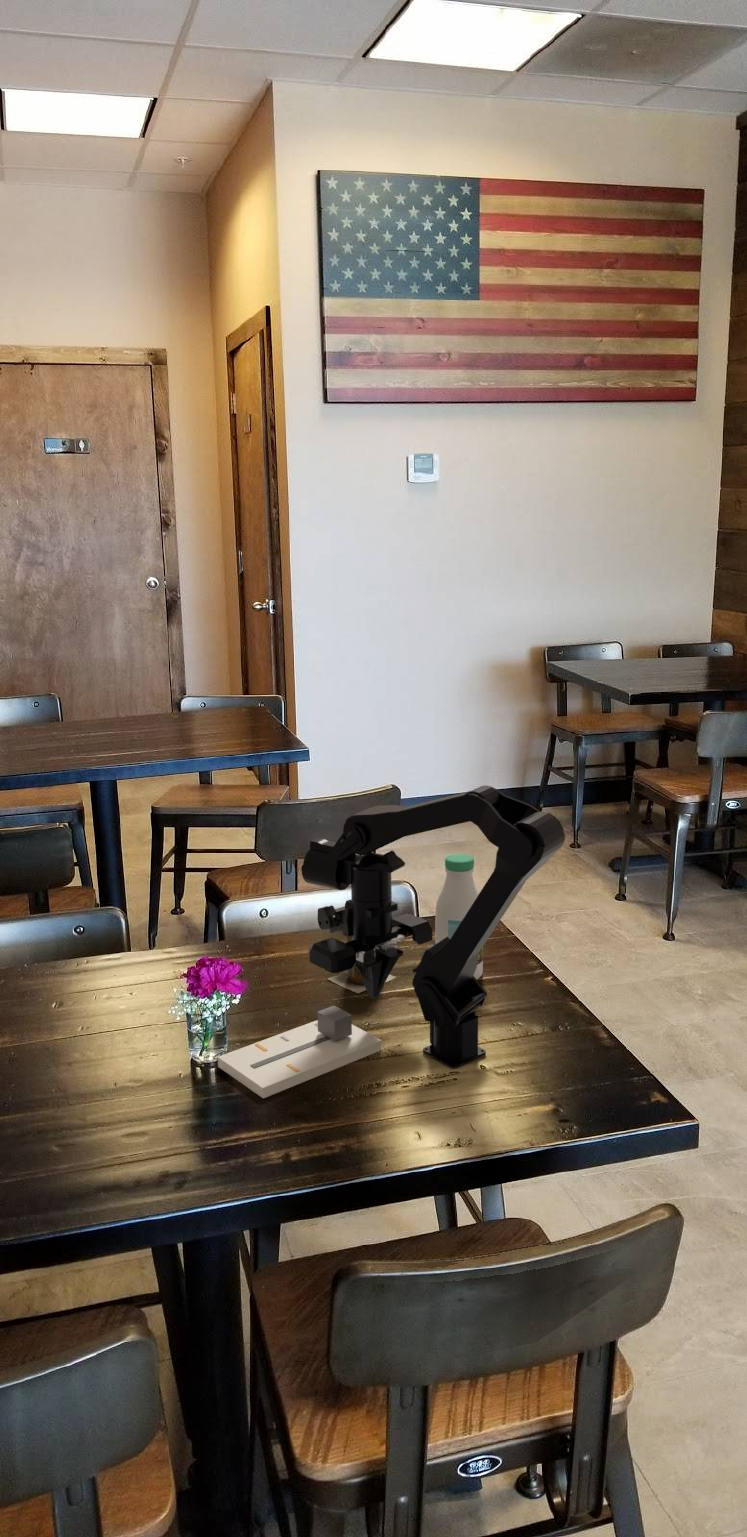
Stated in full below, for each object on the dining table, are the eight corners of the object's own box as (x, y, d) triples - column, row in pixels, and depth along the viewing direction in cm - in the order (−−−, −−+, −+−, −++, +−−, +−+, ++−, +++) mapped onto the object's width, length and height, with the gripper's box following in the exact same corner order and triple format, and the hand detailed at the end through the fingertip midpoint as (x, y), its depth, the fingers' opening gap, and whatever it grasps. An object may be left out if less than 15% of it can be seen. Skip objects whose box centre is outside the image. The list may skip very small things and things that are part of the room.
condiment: (396, 978, 182) (395, 908, 180) (358, 994, 177) (356, 922, 174) (365, 965, 188) (364, 897, 185) (327, 980, 182) (325, 910, 179)
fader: (351, 1034, 159) (351, 1015, 159) (335, 1041, 158) (334, 1021, 157) (334, 1024, 162) (334, 1005, 162) (317, 1031, 161) (317, 1011, 160)
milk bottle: (430, 981, 181) (429, 863, 176) (441, 962, 188) (441, 848, 183) (477, 987, 179) (478, 867, 174) (486, 967, 186) (488, 852, 181)
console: (381, 1050, 159) (381, 1039, 158) (263, 1098, 146) (262, 1087, 146) (333, 1023, 167) (333, 1013, 167) (218, 1066, 155) (217, 1056, 154)
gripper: (385, 867, 172) (386, 963, 175) (284, 896, 160) (288, 997, 164) (434, 886, 163) (435, 986, 167) (332, 917, 152) (335, 1024, 155)
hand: (373, 997), depth 163 cm, fingers closed
